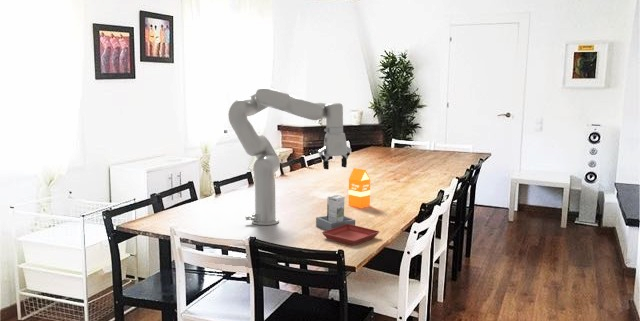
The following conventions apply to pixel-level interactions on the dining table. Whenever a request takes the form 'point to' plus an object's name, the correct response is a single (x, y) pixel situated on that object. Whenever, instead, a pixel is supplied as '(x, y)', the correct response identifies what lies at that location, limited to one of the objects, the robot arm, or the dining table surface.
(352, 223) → the bin
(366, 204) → the orange juice
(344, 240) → the plant saucer
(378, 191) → the dining table surface
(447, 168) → the dining table surface
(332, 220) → the syrup box
